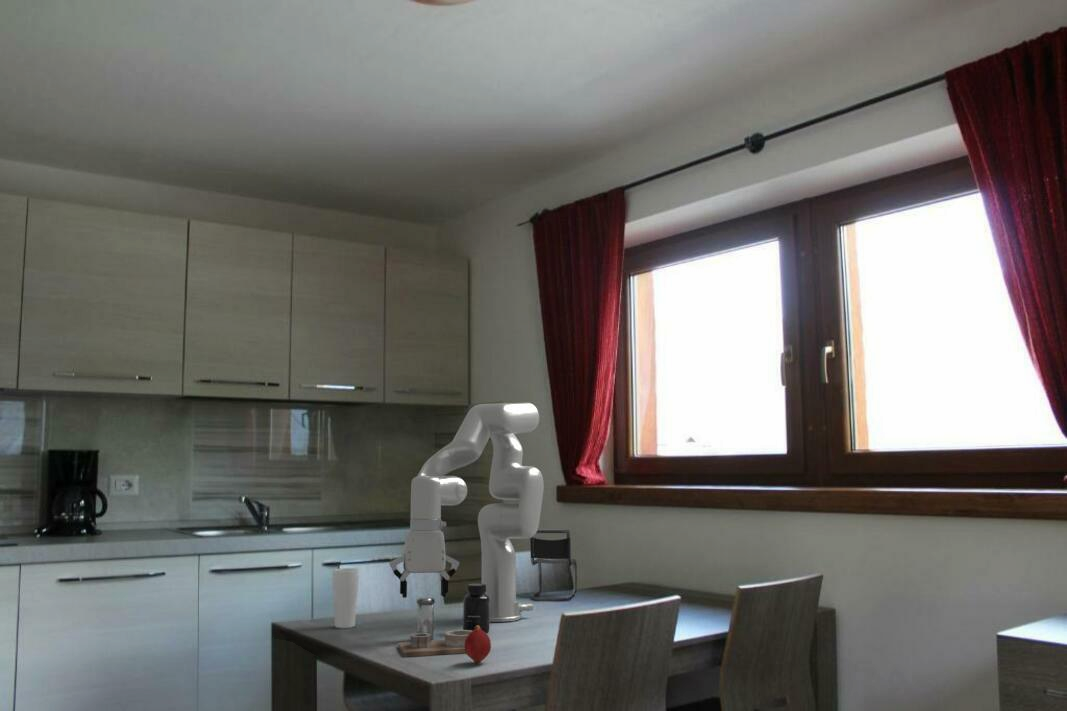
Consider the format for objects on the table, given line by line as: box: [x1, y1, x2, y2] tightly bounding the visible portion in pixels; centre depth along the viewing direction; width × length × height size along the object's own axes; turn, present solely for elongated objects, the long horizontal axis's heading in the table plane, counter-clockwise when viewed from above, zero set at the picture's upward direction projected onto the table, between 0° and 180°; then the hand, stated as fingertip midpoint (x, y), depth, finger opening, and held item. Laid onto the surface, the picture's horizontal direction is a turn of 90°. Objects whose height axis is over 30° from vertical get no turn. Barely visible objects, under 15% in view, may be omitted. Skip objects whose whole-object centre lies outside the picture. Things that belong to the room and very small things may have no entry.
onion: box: [464, 626, 492, 664], centre depth 202 cm, size 6×6×8 cm
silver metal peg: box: [416, 596, 435, 641], centre depth 230 cm, size 4×4×10 cm
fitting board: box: [397, 629, 472, 658], centre depth 217 cm, size 19×12×4 cm, turn 105°
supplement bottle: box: [462, 583, 491, 634], centre depth 239 cm, size 7×7×12 cm
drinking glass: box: [332, 567, 359, 629], centre depth 248 cm, size 7×7×15 cm
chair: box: [529, 529, 578, 602], centre depth 299 cm, size 13×17×22 cm
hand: (423, 596), depth 230 cm, fingers open, 9 cm apart
